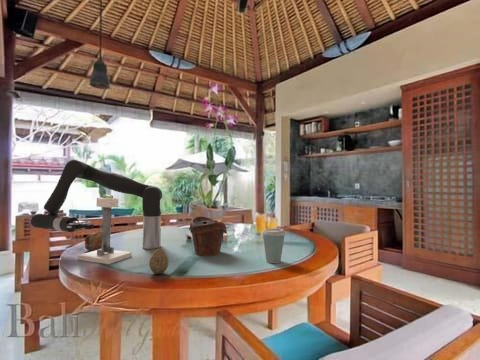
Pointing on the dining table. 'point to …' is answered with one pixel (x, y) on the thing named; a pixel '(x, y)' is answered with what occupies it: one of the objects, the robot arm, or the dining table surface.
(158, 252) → the decorative egg
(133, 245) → the dining table surface
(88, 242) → the brown textured slab
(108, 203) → the post
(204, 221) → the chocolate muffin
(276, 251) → the disposable coffee cup
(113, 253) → the base plate
